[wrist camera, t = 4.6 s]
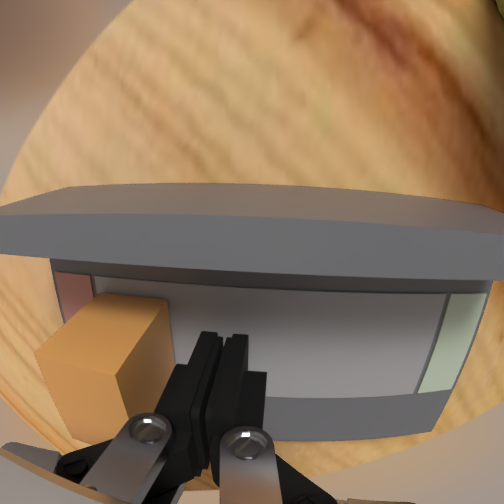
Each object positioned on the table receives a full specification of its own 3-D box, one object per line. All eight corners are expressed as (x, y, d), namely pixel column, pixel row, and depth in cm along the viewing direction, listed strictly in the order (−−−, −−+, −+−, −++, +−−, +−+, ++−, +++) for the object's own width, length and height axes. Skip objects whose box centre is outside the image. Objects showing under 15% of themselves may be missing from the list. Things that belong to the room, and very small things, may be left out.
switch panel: (481, 204, 11) (572, 244, 6) (421, 408, 15) (451, 485, 9) (67, 187, 13) (-28, 216, 7) (106, 389, 17) (62, 458, 11)
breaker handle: (167, 299, 11) (114, 375, 7) (177, 380, 13) (144, 460, 8) (99, 292, 12) (33, 353, 7) (116, 370, 13) (72, 437, 9)
